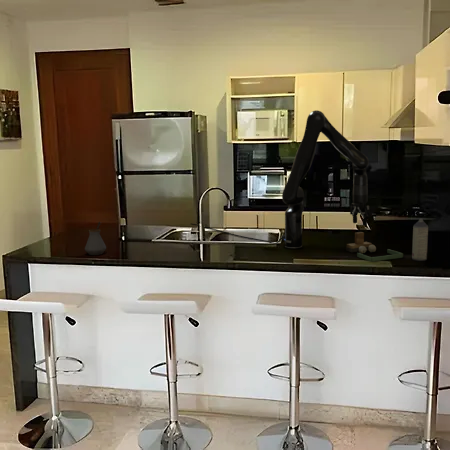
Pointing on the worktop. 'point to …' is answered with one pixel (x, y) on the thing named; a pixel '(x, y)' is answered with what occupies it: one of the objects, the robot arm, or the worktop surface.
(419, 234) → the aerosol can
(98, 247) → the coffee pot
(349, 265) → the worktop surface
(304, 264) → the worktop surface
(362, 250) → the paper ball
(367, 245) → the brown t-shaped block
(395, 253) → the corral
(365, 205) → the robot arm
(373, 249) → the paper ball
